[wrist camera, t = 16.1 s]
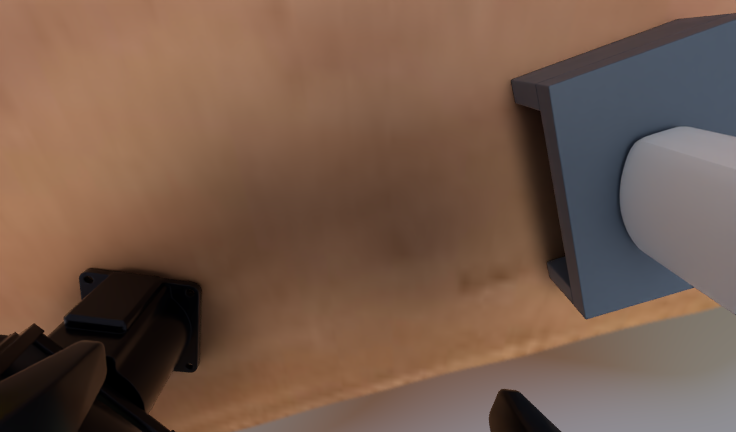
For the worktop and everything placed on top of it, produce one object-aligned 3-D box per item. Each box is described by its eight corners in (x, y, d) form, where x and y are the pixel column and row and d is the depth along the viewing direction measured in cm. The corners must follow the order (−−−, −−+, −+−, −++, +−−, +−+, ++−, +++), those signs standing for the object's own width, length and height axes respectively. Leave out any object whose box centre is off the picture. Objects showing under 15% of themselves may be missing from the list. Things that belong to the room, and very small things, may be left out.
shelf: (549, 277, 23) (585, 319, 20) (510, 79, 19) (548, 86, 15) (684, 236, 23) (749, 271, 19) (678, 18, 18) (761, 10, 14)
